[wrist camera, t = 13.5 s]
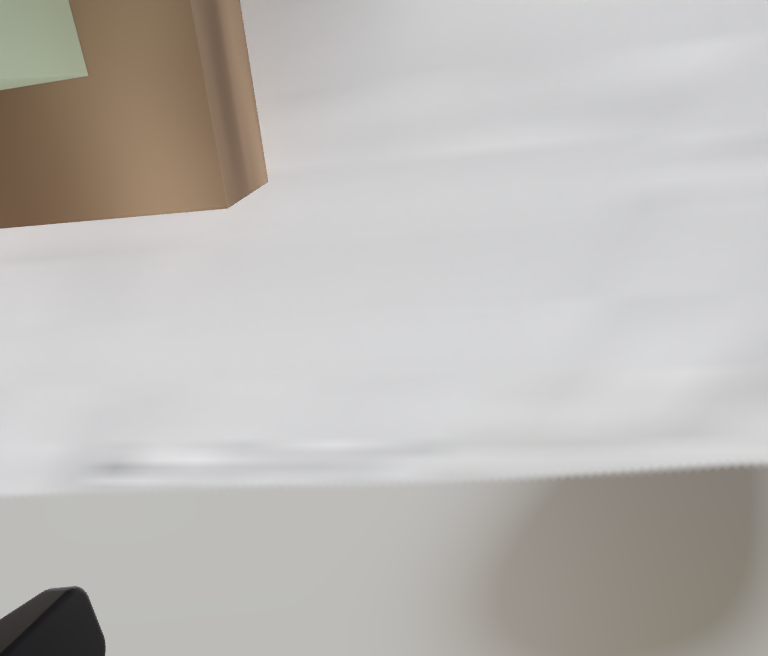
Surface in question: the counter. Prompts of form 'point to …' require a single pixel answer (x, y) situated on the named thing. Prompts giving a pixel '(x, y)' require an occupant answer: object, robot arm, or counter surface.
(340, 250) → the counter surface
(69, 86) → the walnut block
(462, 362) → the counter surface
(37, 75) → the sage cube
